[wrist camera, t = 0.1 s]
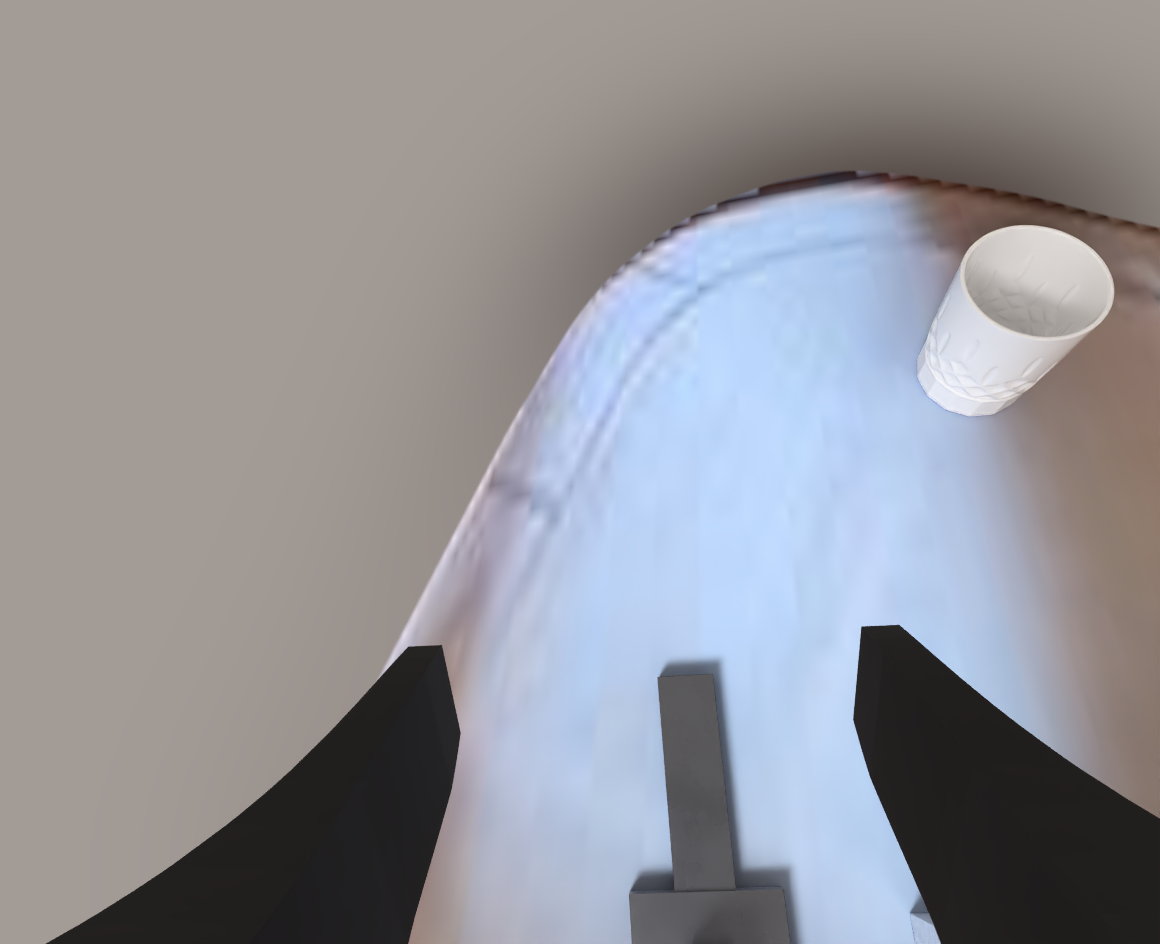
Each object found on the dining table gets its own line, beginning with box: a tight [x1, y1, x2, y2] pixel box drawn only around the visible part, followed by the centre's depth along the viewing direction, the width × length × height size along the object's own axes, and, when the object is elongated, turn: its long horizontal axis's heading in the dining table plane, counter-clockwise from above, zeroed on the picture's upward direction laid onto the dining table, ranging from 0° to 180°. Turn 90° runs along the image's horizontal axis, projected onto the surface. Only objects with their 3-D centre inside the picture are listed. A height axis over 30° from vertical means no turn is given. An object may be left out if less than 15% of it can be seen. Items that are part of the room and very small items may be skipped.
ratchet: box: [629, 674, 790, 944], centre depth 38 cm, size 19×8×4 cm, turn 2°
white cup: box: [917, 225, 1114, 417], centre depth 45 cm, size 8×8×10 cm
